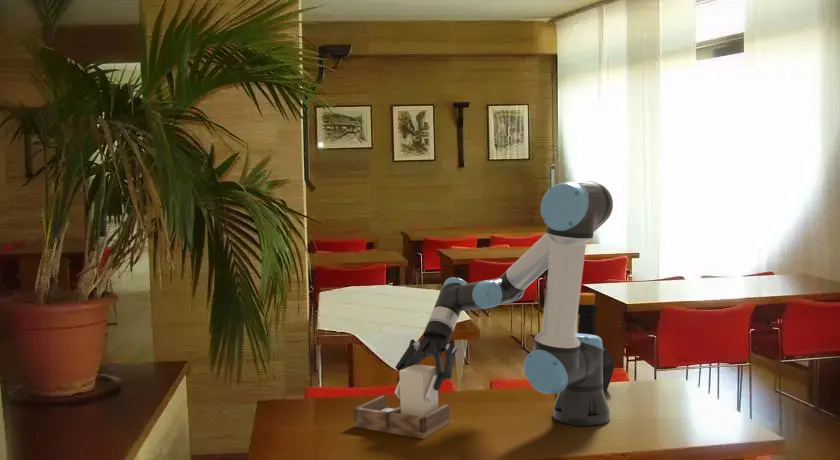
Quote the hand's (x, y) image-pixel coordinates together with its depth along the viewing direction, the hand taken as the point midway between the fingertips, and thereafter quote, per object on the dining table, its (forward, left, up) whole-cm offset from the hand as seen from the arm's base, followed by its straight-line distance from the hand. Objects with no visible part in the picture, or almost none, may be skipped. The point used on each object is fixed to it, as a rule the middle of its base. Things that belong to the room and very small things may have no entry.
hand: (412, 397), depth 196 cm
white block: (0, -3, -7) cm, 8 cm away
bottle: (-29, -57, -9) cm, 65 cm away
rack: (+5, -2, -9) cm, 10 cm away
